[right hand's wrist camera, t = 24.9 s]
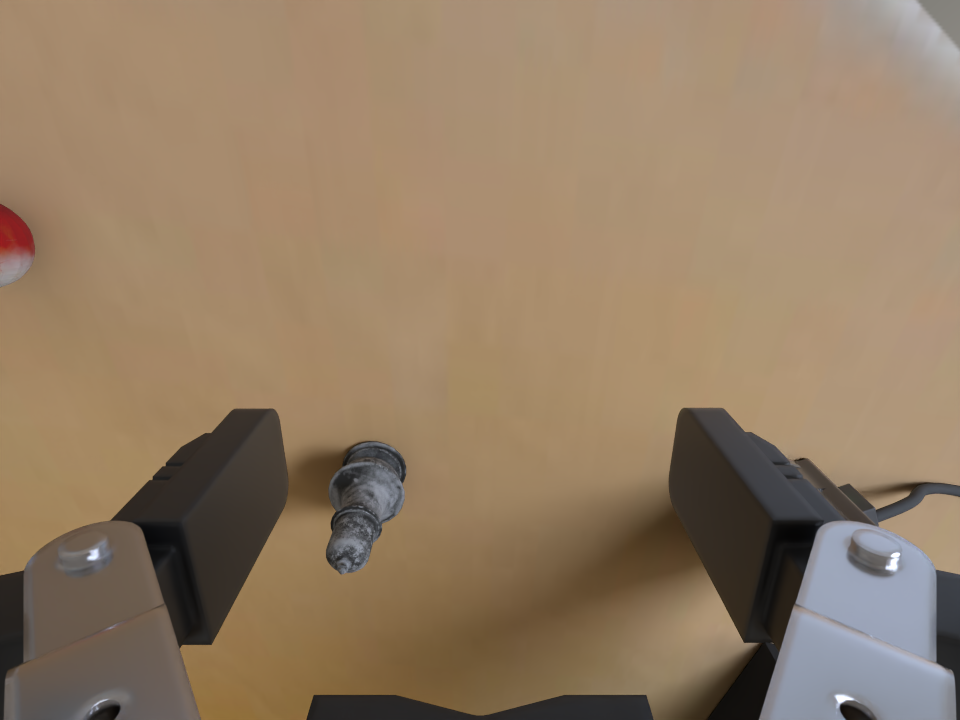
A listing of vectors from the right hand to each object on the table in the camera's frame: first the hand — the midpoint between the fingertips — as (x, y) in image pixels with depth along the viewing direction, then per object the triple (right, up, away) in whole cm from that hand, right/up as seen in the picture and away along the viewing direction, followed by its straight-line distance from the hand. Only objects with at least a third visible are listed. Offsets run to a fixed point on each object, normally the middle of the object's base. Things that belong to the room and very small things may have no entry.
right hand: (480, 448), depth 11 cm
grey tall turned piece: (-9, -7, +35) cm, 37 cm away
